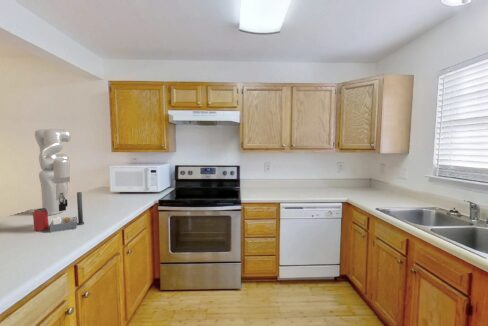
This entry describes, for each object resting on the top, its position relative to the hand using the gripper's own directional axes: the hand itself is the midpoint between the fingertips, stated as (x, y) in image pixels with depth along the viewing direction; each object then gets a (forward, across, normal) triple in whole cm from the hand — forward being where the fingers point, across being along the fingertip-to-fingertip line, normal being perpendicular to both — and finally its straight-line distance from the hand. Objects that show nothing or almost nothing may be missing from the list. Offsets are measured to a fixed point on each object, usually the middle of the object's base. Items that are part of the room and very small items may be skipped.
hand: (63, 208), depth 145 cm
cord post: (+11, -1, +8) cm, 14 cm away
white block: (+7, +4, -3) cm, 9 cm away
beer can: (+12, -1, -11) cm, 16 cm away
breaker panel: (+11, +1, 0) cm, 11 cm away
